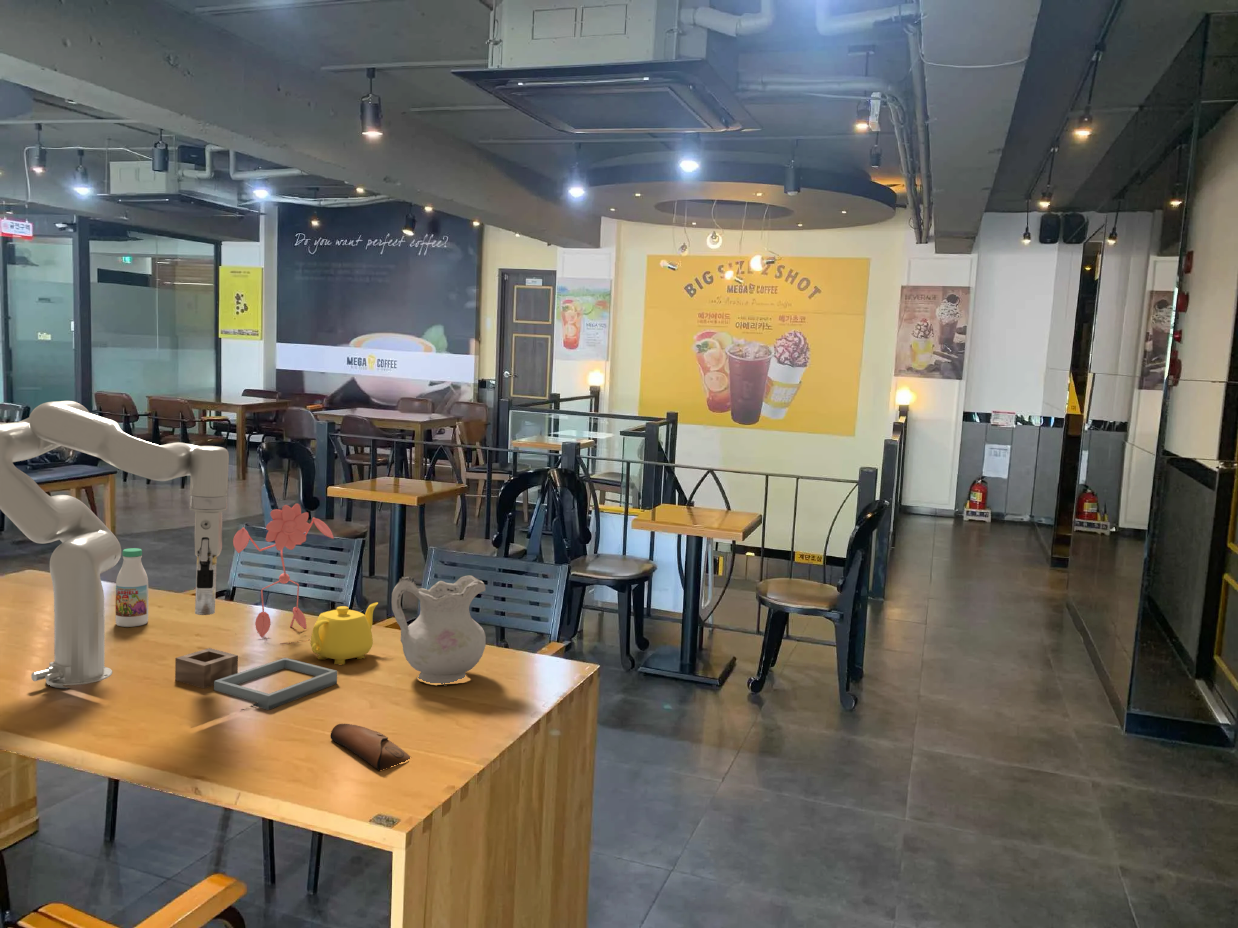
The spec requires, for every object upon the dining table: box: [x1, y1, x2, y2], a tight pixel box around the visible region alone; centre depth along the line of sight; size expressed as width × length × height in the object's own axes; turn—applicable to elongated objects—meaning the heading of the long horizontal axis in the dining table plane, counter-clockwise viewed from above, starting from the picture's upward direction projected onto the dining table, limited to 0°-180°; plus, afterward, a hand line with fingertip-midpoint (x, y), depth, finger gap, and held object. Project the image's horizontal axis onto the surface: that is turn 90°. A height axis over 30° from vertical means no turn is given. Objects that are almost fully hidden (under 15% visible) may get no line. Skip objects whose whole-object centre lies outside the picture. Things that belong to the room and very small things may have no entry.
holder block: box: [174, 647, 239, 689], centre depth 208 cm, size 9×9×6 cm
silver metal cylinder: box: [194, 553, 218, 616], centre depth 206 cm, size 4×4×13 cm
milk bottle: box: [115, 547, 149, 628], centre depth 248 cm, size 8×8×20 cm
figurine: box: [232, 503, 335, 645], centre depth 244 cm, size 15×26×35 cm, turn 135°
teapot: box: [309, 601, 379, 665], centre depth 232 cm, size 14×20×13 cm
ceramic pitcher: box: [391, 575, 487, 684], centre depth 219 cm, size 22×20×25 cm
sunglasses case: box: [329, 723, 411, 772], centre depth 178 cm, size 18×7×7 cm
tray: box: [213, 657, 338, 711], centre depth 207 cm, size 20×16×3 cm
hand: (205, 584), depth 206 cm, fingers closed on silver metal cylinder, 4 cm apart
